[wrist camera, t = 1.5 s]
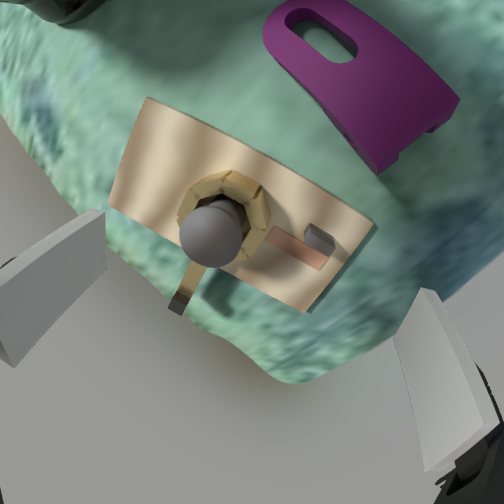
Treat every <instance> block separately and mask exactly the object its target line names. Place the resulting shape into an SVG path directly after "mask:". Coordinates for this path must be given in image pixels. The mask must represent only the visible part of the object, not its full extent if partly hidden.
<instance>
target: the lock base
mask: <svg viewBox="0 0 504 504" xmlns="http://www.w3.org/2000/svg"><path fill="white" fill-rule="evenodd" d="M227 170H231V173H232V172H233V171H234V170H235V171H237V172H239V173H241V174H243V175H245V176H246V177H248V178H250V179H252V180H254V181H255V182H257V183H259V184H260V185H259V187H258V189H259V188H263V190H264V193H265V197H266V200H267V204H268V207H269V210H270V214H271V215H270V221H269V224H268V228H267V232H266V234H265V236H264V237H263V239H262V240H261V242H260V244H259V245H258V247H257V248H256V250H255V252H254V253H253V255H252V256H251V257H250V256H249V257H248V259H247V260H242V261H237V262H232V261H233V260H234V259H235V258H236V256H237V255H238V253H239V250H240V248H241V245H242V240H243V236H242V233H243V232H247V230H248V229H249V227H250V222H249V219H248V216H247V213H246V210H245V206H244V205H243V204H241V203H239V202H237V201H236V200H234V199H232V198H230V197H228V196H227V195H225V194H223V193H220V194H216V195H213V196H209V197H206V199H205V201H204V203H203V205H202V207H199V208H197V209H195V210H193V211H192V212H191V213H190V214H189V215H188V216H187V217H186V218H185V219H184V220H183V222H182V224H181V226H180V228H179V226H178V223H177V221H176V219H177V218H178V216H176V214H177V212H178V210H179V208H180V205H181V203H182V201H183V199H184V196H185V194H186V192H187V190H188V189H189V188H190V187H191V186H192V185H194V184H195V183H196V182H198V181H199V180H201V179H202V178H203V177H206V176H210V175H213V174H216V173H220V172H223V171H227ZM108 205H110V206H111V207H113V208H115V209H116V210H118V211H120V212H121V213H123V214H125V215H127V216H128V217H130V218H132V219H133V220H135V221H137V222H139V223H140V224H142V225H144V226H146V227H147V228H149V229H151V230H153V231H154V232H156V233H158V234H159V235H161V236H163V237H165V238H167V239H168V240H170V241H172V242H174V243H175V244H177V245H179V246H181V247H182V248H183V250H184V252H185V253H186V254H187V256H188V257H189V258H190V259H192V260H193V261H194V262H196V263H198V264H200V265H202V266H205V267H211V268H216V267H218V268H220V269H222V270H224V271H226V272H228V273H229V274H231V275H233V276H235V277H237V278H239V279H240V280H242V281H244V282H246V283H248V284H250V285H252V286H253V287H255V288H257V289H259V290H261V291H263V292H265V293H266V294H268V295H270V296H272V297H274V298H276V299H278V300H280V301H282V302H284V303H285V304H287V305H289V306H291V307H293V308H295V309H297V310H299V311H301V312H303V313H305V312H306V310H307V309H308V308H309V307H310V306H311V304H312V303H313V302H314V301H315V300H316V298H317V297H318V296H319V295H320V294H321V292H322V291H323V290H324V289H325V287H326V286H327V285H328V284H329V282H330V281H331V280H332V279H333V277H334V276H335V275H336V274H337V272H338V271H339V270H340V268H341V267H342V266H343V265H344V263H345V262H346V261H347V259H348V258H349V257H350V255H351V254H352V253H353V252H354V250H355V249H356V248H357V246H358V245H359V244H360V242H361V241H362V240H363V238H364V237H365V236H366V234H367V233H368V231H369V230H370V229H371V227H372V226H373V225H374V223H373V221H372V220H371V219H370V218H368V217H367V216H365V215H364V214H363V213H361V212H360V211H358V210H357V209H355V208H354V207H352V206H351V205H349V204H347V203H346V202H344V201H343V200H341V199H340V198H338V197H337V196H335V195H334V194H332V193H330V192H329V191H327V190H326V189H324V188H322V187H321V186H319V185H318V184H316V183H314V182H313V181H311V180H309V179H308V178H306V177H304V176H303V175H301V174H299V173H298V172H296V171H294V170H293V169H291V168H289V167H287V166H286V165H284V164H282V163H281V162H279V161H277V160H275V159H274V158H272V157H270V156H268V155H266V154H265V153H263V152H261V151H259V150H257V149H256V148H254V147H252V146H250V145H248V144H246V143H244V142H243V141H241V140H239V139H237V138H235V137H233V136H231V135H229V134H227V133H225V132H223V131H221V130H219V129H217V128H215V127H213V126H211V125H209V124H207V123H205V122H203V121H201V120H199V119H197V118H195V117H193V116H191V115H189V114H187V113H184V112H182V111H180V110H178V109H176V108H174V107H171V106H169V105H167V104H165V103H162V102H160V101H158V100H156V99H153V98H151V97H146V98H145V101H144V103H143V105H142V108H141V110H140V112H139V115H138V117H137V120H136V122H135V125H134V127H133V130H132V132H131V135H130V137H129V140H128V143H127V145H126V148H125V151H124V154H123V157H122V159H121V162H120V165H119V168H118V171H117V174H116V177H115V180H114V184H113V187H112V190H111V193H110V197H109V200H108ZM230 262H232V263H230Z"/></svg>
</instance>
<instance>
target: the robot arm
mask: <svg viewBox="0 0 504 504" xmlns="http://www.w3.org/2000/svg"><path fill="white" fill-rule="evenodd" d="M104 1H105V0H0V2H5V3H13V4H21V5H24V6H26V7H27V8H28V9H30V10H31V11H32V12H34V13H35V14H36V15H38V16H39V17H40V18H42V19H43V20H45V21H48V22H51V23H57V24H68V23H72V22H75V21H78V20H80V19H82V18H83V17H85V16H87V15H88V14H90V13H91V12H93V11H94V10H95V9H96V8H98V7H99V6H100V5H101V4H102V3H103V2H104ZM106 270H107V253H106V229H105V212H103V211H98V210H94V209H90V210H88V211H87V212H85V213H83V214H82V215H80V216H78V217H77V218H75V219H73V220H72V221H70V222H69V223H67V224H65V225H64V226H63V227H61V228H59V229H57V230H56V231H54V232H53V233H51V234H50V235H48V236H47V237H45V238H44V239H42V240H41V241H39V242H38V243H36V244H35V245H33V246H32V247H30V248H29V249H27V250H26V251H25V252H23V253H22V254H20V255H19V256H17V257H15V258H12V259H10V260H9V261H8V262H6V263H5V264H4V265H2V267H1V268H0V358H1V359H2V360H3V361H4V362H6V363H7V364H9V365H10V366H12V367H13V368H15V367H16V366H17V365H18V364H19V362H20V361H21V360H22V359H23V358H24V356H25V355H26V354H27V353H28V352H29V351H30V349H31V348H32V347H33V346H34V345H35V344H36V342H37V341H38V340H39V339H40V338H41V337H42V336H43V335H44V334H45V333H46V331H47V330H48V329H49V328H50V327H51V326H52V325H53V324H54V323H55V322H56V321H57V319H58V318H59V317H60V316H61V315H62V314H63V313H64V312H65V311H66V310H67V309H68V308H69V307H70V306H71V305H72V304H73V303H74V302H75V301H76V299H77V298H78V297H80V296H81V295H82V294H83V293H84V292H85V290H86V289H87V288H89V287H90V286H91V285H92V284H93V283H94V282H95V281H96V280H97V279H98V278H99V276H101V275H102V274H103V273H104V272H105V271H106ZM393 339H394V342H395V346H396V349H397V352H398V356H399V359H400V363H401V366H402V370H403V373H404V377H405V381H406V384H407V388H408V392H409V396H410V400H411V404H412V408H413V413H414V417H415V421H416V426H417V431H418V436H419V440H420V446H421V451H422V457H423V463H424V469H425V472H431V471H438V470H443V469H444V468H446V467H447V466H448V465H450V464H451V463H453V462H454V461H455V465H456V468H455V469H453V470H452V471H450V472H449V473H448V474H446V475H445V476H443V477H442V478H440V479H439V480H438V481H437V482H436V483H435V485H438V484H440V483H441V482H443V481H444V480H446V481H445V483H444V484H443V485H442V486H440V488H441V489H442V490H441V491H440V493H439V495H438V497H437V498H436V500H435V502H434V504H504V422H503V419H502V416H501V414H500V411H499V408H498V406H497V404H496V401H495V399H494V397H493V395H491V393H492V392H491V390H490V387H489V386H488V383H487V380H486V378H485V376H484V374H483V372H482V371H481V370H480V369H479V367H478V366H477V365H476V363H475V362H474V361H473V359H472V357H471V355H470V353H469V351H468V349H467V347H466V345H465V343H464V341H463V339H462V337H461V335H460V333H459V331H458V330H457V328H456V326H455V324H454V322H453V320H452V319H451V317H450V315H449V313H448V312H447V310H446V308H445V306H444V305H443V303H442V301H441V300H440V298H439V296H438V295H437V293H436V291H434V290H430V289H426V288H422V287H421V288H420V290H419V292H418V294H417V296H416V298H415V300H414V302H413V304H412V306H411V307H410V309H409V311H408V313H407V315H406V317H405V318H404V320H403V322H402V324H401V325H400V327H399V329H398V331H397V332H396V334H395V336H394V337H393ZM0 504H4V503H3V499H2V494H1V489H0Z"/></svg>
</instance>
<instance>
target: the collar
mask: <svg viewBox="0 0 504 504" xmlns="http://www.w3.org/2000/svg"><path fill="white" fill-rule="evenodd" d="M259 185H260V184H259V183H257V182H255V181H254V180H252V179H250V178H248V177H246V176H245V175H243V174H241V173H239V172H237V171H235V170H234V171H233V172H232V173H231V170H227V171H223V172H220V173H216V174H213V175H210V176H206V177H203V178H202V179H201V180H199V181H198V182H196V183H195V184H194V185H192V186H191V187H190V188H189V189H188V190H187V192H186V194H185V196H184V199H183V201H182V203H181V205H180V208H179V210H178V212H177V214H176V216H178V218H177V219H176V221H177V223H178V226H179V228H180V226H181V224H182V222H183V220H184V219H185V218H186V217H187V216H188V215H189V214H190V213H191V212H192V211H193V210H195V209H197V208H199V207H202V205H203V203H204V201H205V199H206V197H209V196H213V195H216V194H220V193H223V194H225V195H227V196H228V197H230V198H232V199H234V200H236V201H237V202H239V203H241V204H243V205H244V206H245V210H246V213H247V216H248V219H249V222H250V227H249V229H248V230H247V232H243V233H242V236H243V240H242V245H241V248H240V250H239V253H238V255H237V256H236V258H235V259H234V260H233V261H232V262H237V261H242V260H247V259H248V257H249V256H250V257H251V256H252V255H253V253H254V252H255V250H256V248H257V247H258V245H259V244H260V242H261V240H262V239H263V237H264V236H265V234H266V232H267V228H268V224H269V221H270V215H271V214H270V210H269V207H268V204H267V200H266V197H265V193H264V190H263V188H259V189H258V187H259ZM232 262H230V263H232ZM206 269H207V267H205V266H202V265H200V264H198V263H196V262H194V261H193V260H191V262H190V264H189V267H188V269H187V271H186V273H185V275H184V277H183V279H182V281H181V283H180V285H179V287H178V289H177V291H176V293H175V295H174V296H173V298H172V300H171V302H170V304H169V306H168V309H170V310H172V311H173V312H175V313H177V314H179V315H181V316H182V314H183V312H184V310H185V308H186V306H187V304H188V303H189V301H190V299H191V297H192V295H193V293H194V291H195V289H196V288H197V286H198V284H199V282H200V280H201V278H202V276H203V274H204V272H205V271H206Z"/></svg>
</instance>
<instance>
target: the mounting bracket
mask: <svg viewBox="0 0 504 504" xmlns="http://www.w3.org/2000/svg"><path fill="white" fill-rule="evenodd" d="M305 19H312V20H316V21H318V22H319V23H321V24H322V25H324V26H325V27H326V28H328V29H329V30H330V31H332V32H333V33H334V34H336V35H337V36H338V37H340V38H341V39H342V40H343V41H345V42H346V43H347V44H348V45H350V46H351V47H352V48H353V49H354V50H356V51H357V52H358V54H357V56H356V57H355V58H354V59H353V60H352V61H350V62H347V63H343V64H337V63H333V62H330V61H328V60H327V59H326V58H325V57H323V56H322V55H321V54H320V53H319V52H317V51H316V50H315V49H314V48H313V47H311V46H310V45H309V44H308V43H306V42H305V41H304V40H303V39H301V38H300V37H299V36H297V35H296V34H295V33H294V32H292V28H293V26H294V25H295V24H296V23H298V22H299V21H302V20H305ZM263 41H264V44H265V47H266V49H267V50H268V52H269V53H270V54H271V55H272V56H273V58H274V59H275V60H276V61H277V62H278V64H279V65H280V66H281V67H282V68H284V69H285V70H286V71H287V72H288V73H289V74H290V75H291V76H292V77H293V78H294V79H295V80H296V81H297V82H298V83H300V84H301V85H302V86H303V87H304V88H305V89H306V90H307V91H308V92H309V93H310V94H311V95H312V96H313V97H314V98H315V100H316V101H317V102H318V103H319V104H320V106H321V107H322V109H323V111H324V112H325V114H326V115H327V116H328V118H329V119H330V120H331V122H332V123H333V124H334V126H335V127H336V128H337V129H338V131H339V132H340V133H341V134H342V135H343V137H344V138H345V139H346V140H347V142H348V143H349V144H350V145H351V147H352V148H353V149H354V150H355V151H356V153H357V154H358V155H359V156H360V157H361V159H362V160H363V161H364V162H365V163H366V164H367V166H368V167H369V168H370V169H371V170H372V171H373V172H374V173H375V174H376V175H379V174H380V173H381V172H383V171H384V170H385V169H387V168H388V167H389V166H390V165H392V164H393V163H394V162H396V161H397V160H398V156H399V153H400V152H401V151H402V150H403V149H405V148H406V147H407V146H408V145H410V144H411V143H412V142H414V141H415V140H416V139H417V138H419V137H420V136H421V135H422V134H424V133H425V132H427V133H432V132H434V131H435V130H436V129H437V128H439V127H440V126H441V125H443V124H444V123H445V122H446V121H448V120H449V119H450V118H451V116H452V114H453V112H454V110H455V108H456V107H457V105H458V103H459V101H460V98H459V97H458V96H457V95H456V94H455V93H454V91H453V90H452V89H451V88H450V87H449V86H448V85H447V84H446V83H445V82H444V81H443V80H442V79H441V78H440V77H439V76H438V75H437V74H436V73H435V72H434V71H433V70H432V69H431V68H430V67H429V66H428V65H427V64H426V63H425V62H424V61H423V60H422V59H421V58H420V57H419V56H418V55H416V54H415V53H414V52H413V51H412V50H411V49H410V48H409V47H407V46H406V45H405V44H404V43H403V42H401V41H400V40H399V39H398V38H397V37H395V36H394V35H393V34H392V33H390V32H389V31H388V30H387V29H385V28H384V27H383V26H381V25H380V24H379V23H377V22H376V21H375V20H373V19H372V18H371V17H369V16H368V15H366V14H365V13H364V12H362V11H361V10H359V9H358V8H356V7H355V6H353V5H352V4H350V3H349V2H347V1H345V0H288V1H286V2H284V3H283V4H281V5H280V6H278V7H277V8H276V9H275V10H274V11H273V12H272V13H271V14H270V16H269V17H268V19H267V20H266V23H265V25H264V28H263Z"/></svg>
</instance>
